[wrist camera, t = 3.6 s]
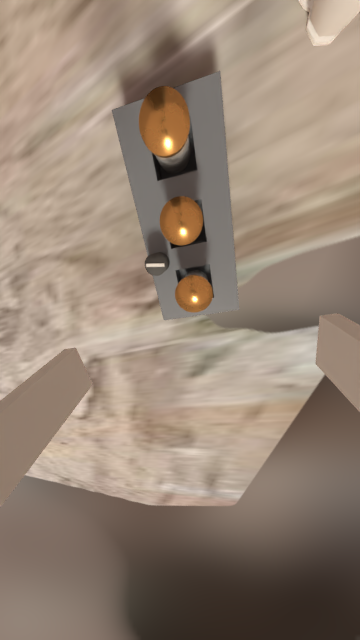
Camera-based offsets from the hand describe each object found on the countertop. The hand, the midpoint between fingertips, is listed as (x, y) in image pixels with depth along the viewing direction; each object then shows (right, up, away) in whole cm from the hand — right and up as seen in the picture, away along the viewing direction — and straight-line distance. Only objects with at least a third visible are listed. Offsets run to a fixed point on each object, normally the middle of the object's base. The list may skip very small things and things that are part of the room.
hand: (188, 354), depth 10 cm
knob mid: (0, +15, +15) cm, 21 cm away
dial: (-3, +10, +17) cm, 20 cm away
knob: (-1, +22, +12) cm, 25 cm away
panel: (+1, +17, +20) cm, 26 cm away
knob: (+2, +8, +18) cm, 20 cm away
